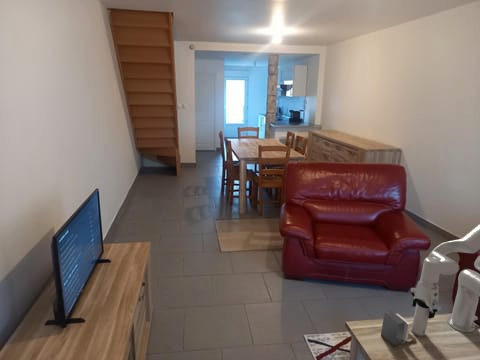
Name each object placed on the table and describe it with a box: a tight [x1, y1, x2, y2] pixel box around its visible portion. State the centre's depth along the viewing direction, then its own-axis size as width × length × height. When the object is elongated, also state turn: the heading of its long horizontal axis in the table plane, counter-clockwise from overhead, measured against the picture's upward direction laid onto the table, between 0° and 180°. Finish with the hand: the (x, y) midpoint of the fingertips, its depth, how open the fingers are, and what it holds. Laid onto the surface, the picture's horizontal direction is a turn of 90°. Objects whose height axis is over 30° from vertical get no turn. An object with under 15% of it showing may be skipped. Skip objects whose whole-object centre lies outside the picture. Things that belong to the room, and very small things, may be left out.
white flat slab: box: [395, 313, 411, 343], centre depth 171 cm, size 1×9×10 cm, turn 21°
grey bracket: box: [380, 310, 417, 349], centre depth 171 cm, size 14×9×14 cm, turn 111°
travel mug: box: [411, 299, 431, 337], centre depth 175 cm, size 6×7×20 cm
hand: (422, 311), depth 174 cm, fingers open, 9 cm apart
